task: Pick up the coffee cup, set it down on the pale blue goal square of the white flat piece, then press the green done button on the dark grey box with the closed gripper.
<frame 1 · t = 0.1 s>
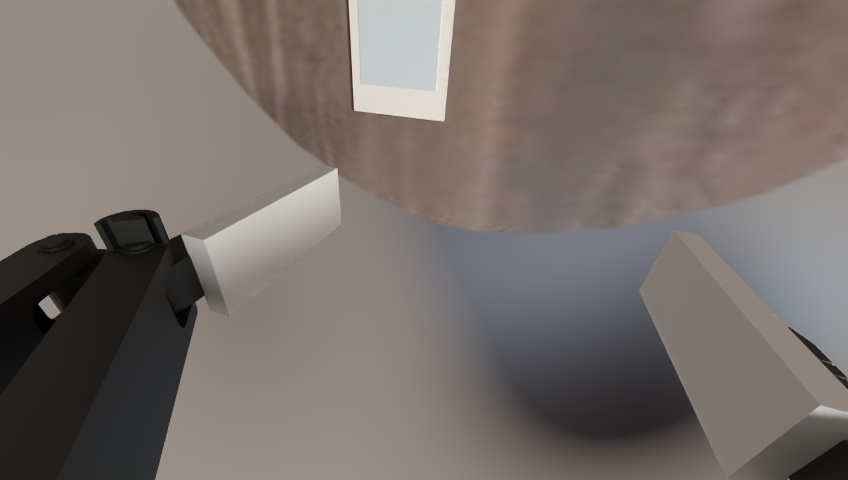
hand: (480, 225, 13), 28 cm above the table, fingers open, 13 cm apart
white flat piece: (400, 51, 36), on the table
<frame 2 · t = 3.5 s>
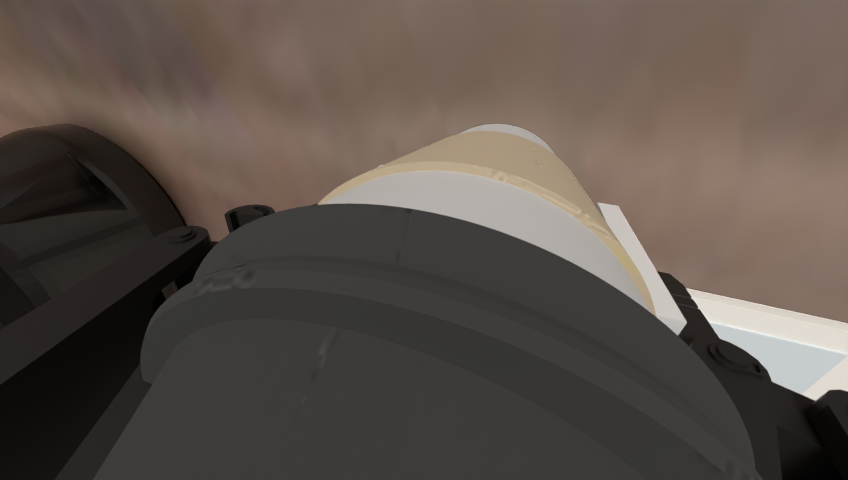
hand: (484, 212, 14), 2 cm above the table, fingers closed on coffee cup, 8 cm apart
white flat piece: (688, 381, 18), on the table
coffee cup: (490, 192, 16), on the table, touching gripper
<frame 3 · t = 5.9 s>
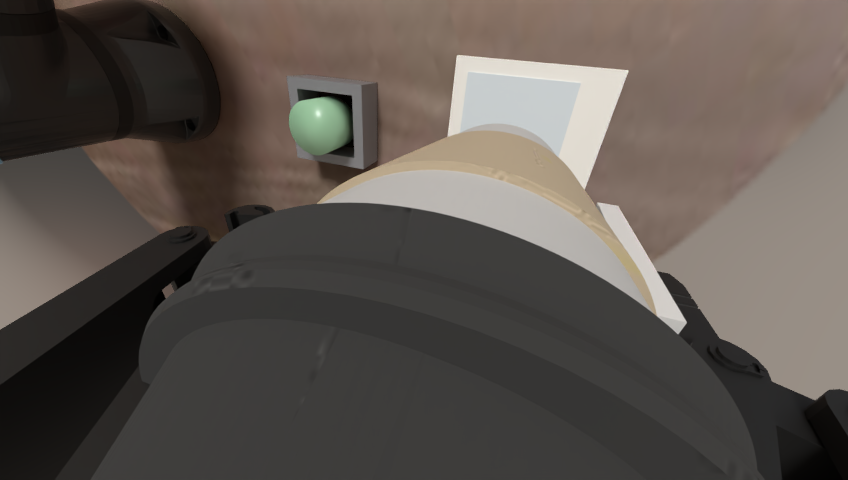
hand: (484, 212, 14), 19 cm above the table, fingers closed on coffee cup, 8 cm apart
button box: (344, 119, 34), on the table
white flat piece: (521, 134, 30), on the table
done button: (323, 125, 31), point 4 cm above the table, slide at 0.0 cm
coffee cup: (491, 192, 16), point 17 cm above the table, touching gripper
when the fingers open (5 cm above the table, at t = 8.7 s): coffee cup stays where it is, resting on white flat piece.
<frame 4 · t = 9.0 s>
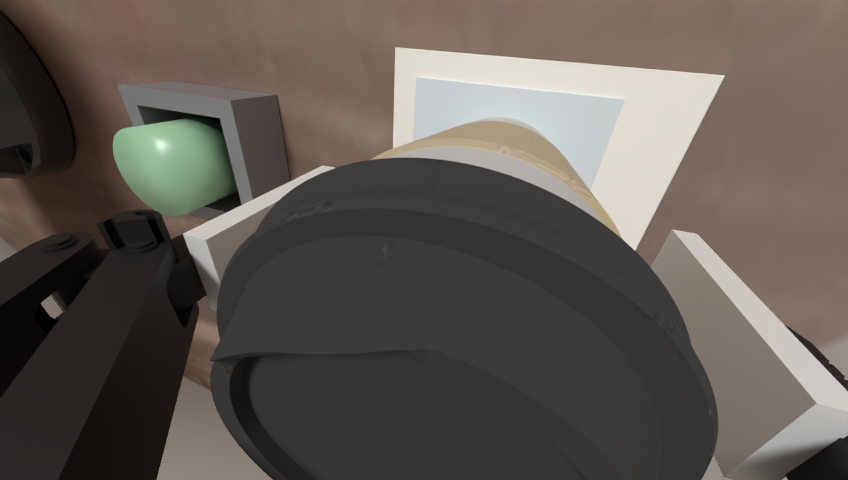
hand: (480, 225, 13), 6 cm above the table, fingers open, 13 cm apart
button box: (238, 150, 22), on the table
white flat piece: (512, 183, 17), on the table
done button: (185, 165, 19), point 4 cm above the table, slide at 0.0 cm
coffee cup: (492, 181, 17), point 1 cm above the table, touching white flat piece
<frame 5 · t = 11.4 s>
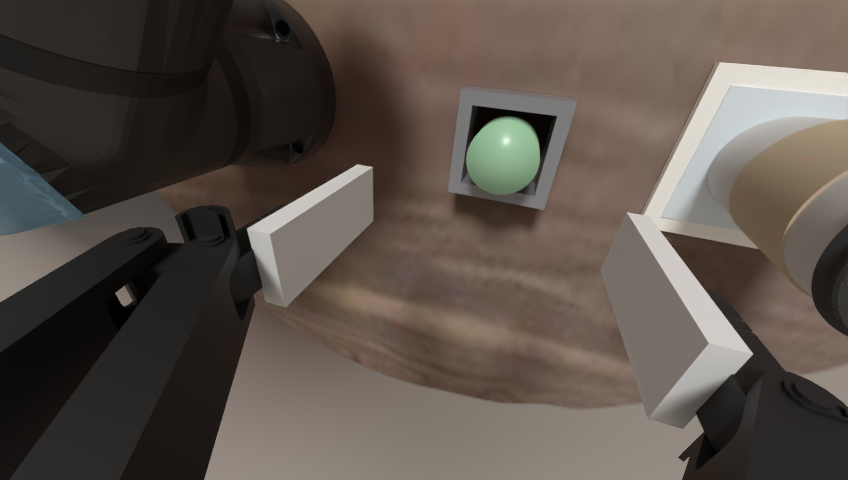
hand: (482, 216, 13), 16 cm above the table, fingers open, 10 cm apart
button box: (507, 142, 26), on the table
white flat piece: (781, 169, 22), on the table
done button: (504, 153, 23), point 4 cm above the table, slide at 0.0 cm
coffee cup: (767, 167, 22), point 1 cm above the table, touching white flat piece
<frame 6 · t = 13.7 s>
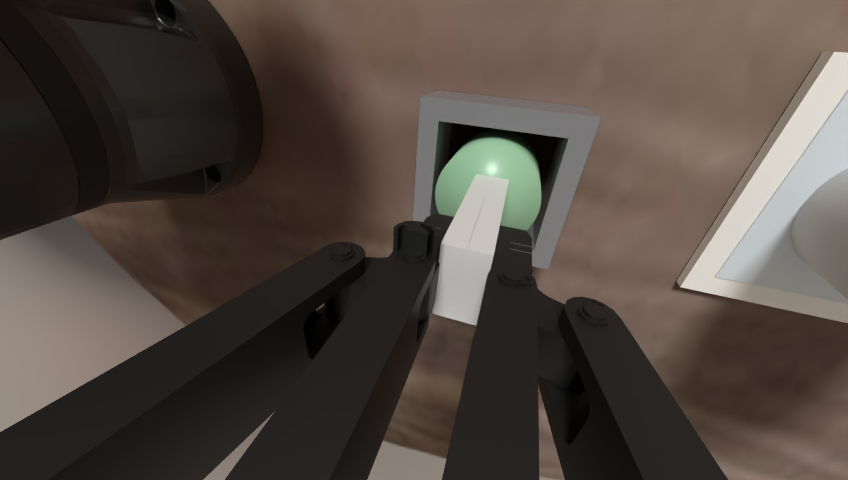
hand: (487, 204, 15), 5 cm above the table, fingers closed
button box: (495, 169, 19), on the table
done button: (490, 185, 16), point 3 cm above the table, slide at 1.1 cm, touching gripper
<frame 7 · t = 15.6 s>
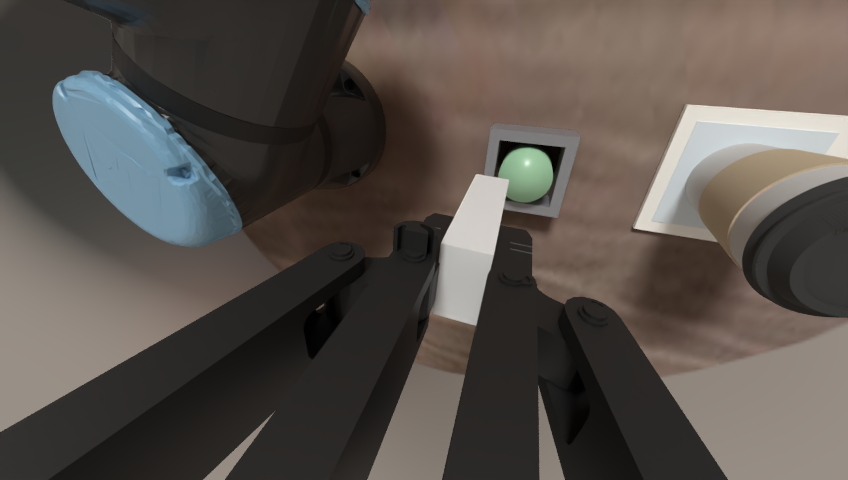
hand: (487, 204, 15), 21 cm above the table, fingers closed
button box: (526, 165, 33), on the table
white flat piece: (742, 181, 28), on the table
done button: (525, 172, 31), point 3 cm above the table, slide at 1.4 cm
coffee cup: (731, 180, 28), point 1 cm above the table, touching white flat piece
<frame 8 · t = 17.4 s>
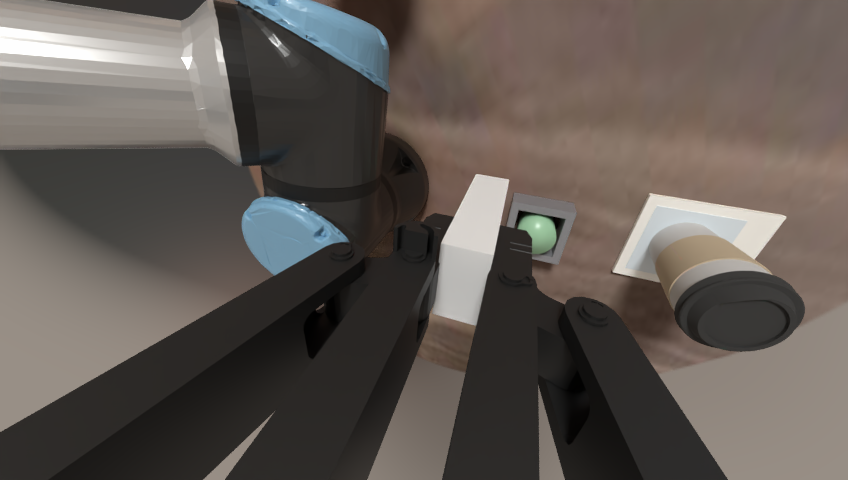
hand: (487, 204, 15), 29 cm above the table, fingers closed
button box: (535, 223, 45), on the table
white flat piece: (687, 245, 40), on the table
done button: (535, 231, 43), point 3 cm above the table, slide at 1.4 cm
coffee cup: (679, 245, 40), point 1 cm above the table, touching white flat piece
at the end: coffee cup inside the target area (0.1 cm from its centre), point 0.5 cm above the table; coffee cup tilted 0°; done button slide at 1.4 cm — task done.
